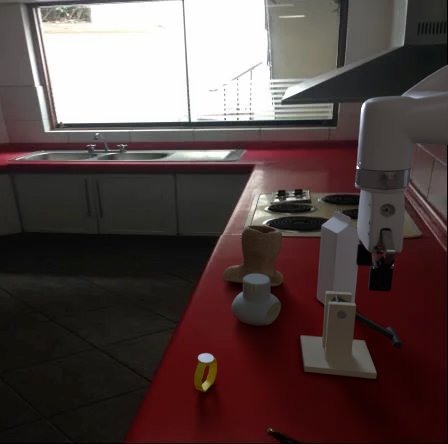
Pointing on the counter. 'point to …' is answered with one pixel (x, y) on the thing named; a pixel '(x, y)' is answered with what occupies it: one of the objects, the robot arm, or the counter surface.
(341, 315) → the cream lever stand
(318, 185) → the counter surface
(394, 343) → the lever
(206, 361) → the watch
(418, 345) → the counter surface
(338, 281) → the milk
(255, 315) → the air freshener
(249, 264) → the tan boot
